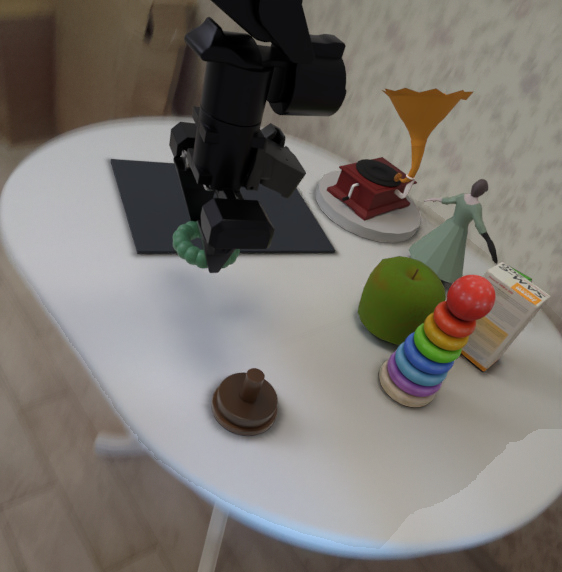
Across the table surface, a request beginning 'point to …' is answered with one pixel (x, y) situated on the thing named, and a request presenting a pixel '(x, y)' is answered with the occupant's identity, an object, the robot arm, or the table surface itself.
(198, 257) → the ring
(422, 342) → the stacking toy
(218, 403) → the stand
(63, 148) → the table surface
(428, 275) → the apple
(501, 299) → the supplement box
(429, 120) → the gramophone
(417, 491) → the table surface
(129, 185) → the mat
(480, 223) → the character figurine
